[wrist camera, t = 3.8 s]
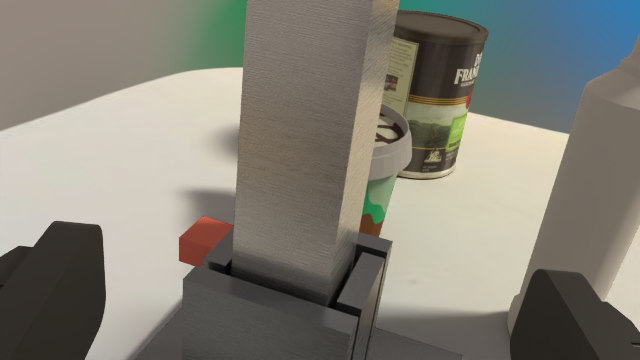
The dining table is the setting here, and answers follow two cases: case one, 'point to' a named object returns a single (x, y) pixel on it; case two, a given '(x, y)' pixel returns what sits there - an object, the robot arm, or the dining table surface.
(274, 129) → the post
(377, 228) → the food container
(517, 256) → the dining table surface
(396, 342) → the stand
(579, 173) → the bottle
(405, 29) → the coffee can
